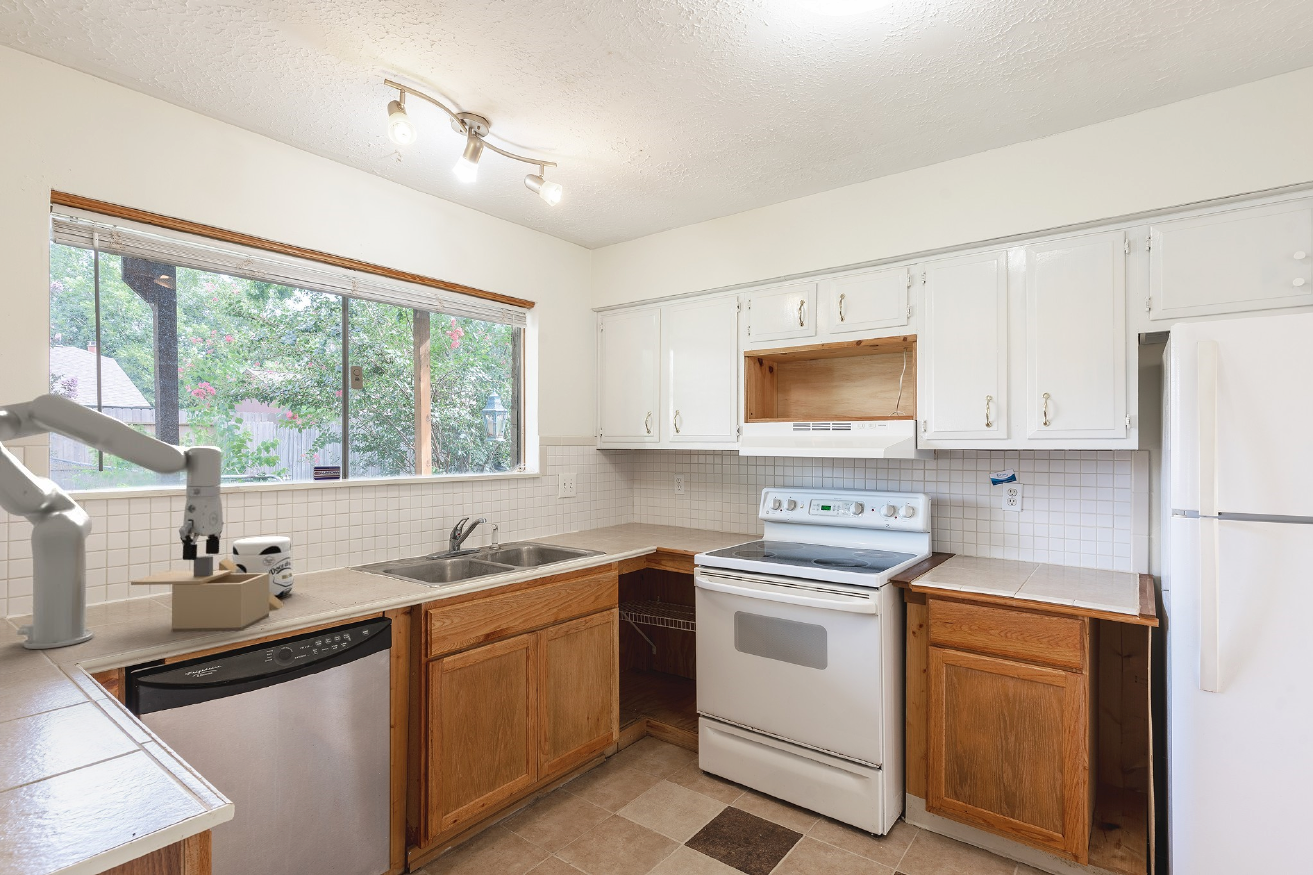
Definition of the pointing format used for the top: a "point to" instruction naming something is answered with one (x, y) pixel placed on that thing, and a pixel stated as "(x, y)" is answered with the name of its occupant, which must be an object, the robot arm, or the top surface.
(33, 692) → the top surface
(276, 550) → the milk container
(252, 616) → the carton
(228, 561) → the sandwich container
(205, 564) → the carton lid
